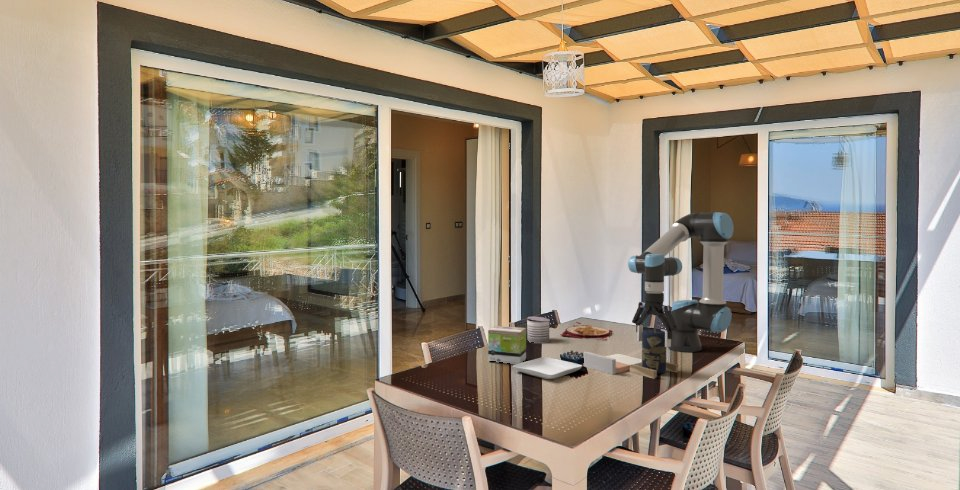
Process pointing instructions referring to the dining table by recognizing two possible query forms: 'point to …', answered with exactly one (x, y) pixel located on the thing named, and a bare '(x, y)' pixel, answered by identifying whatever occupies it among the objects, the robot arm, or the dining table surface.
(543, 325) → the can
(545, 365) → the salad plate
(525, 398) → the dining table surface
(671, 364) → the rails
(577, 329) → the plate with food
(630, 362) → the board
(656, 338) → the canister
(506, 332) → the tea box
